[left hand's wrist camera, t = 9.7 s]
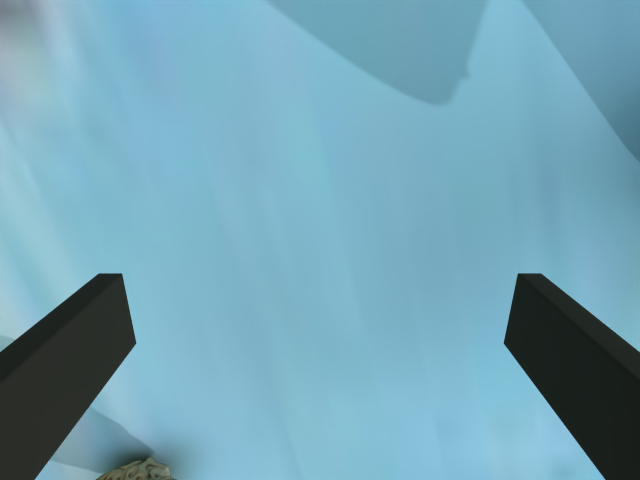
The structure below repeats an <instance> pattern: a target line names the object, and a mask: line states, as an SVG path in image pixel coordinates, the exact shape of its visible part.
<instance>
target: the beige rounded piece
mask: <svg viewBox="0 0 640 480" xmlns="http://www.w3.org/2000/svg"><path fill="white" fill-rule="evenodd" d="M96 480H175V479H173V478H172V477H171V474H170V470H169V467H168V466H167V465H165V464H162V463H157V462H155V459H154V458H153V457H149V458H147V459H146V460H145V461H142V460H139V461H134V462H132V463H130V464H127V465H125V466H122V467H119V468H117V469H114V470H111V471H109V472H108V473H106V474H104V475H102V476H100V477H99V478H98V479H96Z"/></svg>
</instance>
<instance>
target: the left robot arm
mask: <svg viewBox="0 0 640 480" xmlns="http://www.w3.org/2000/svg"><path fill="white" fill-rule="evenodd" d="M135 344H136V340H135V335H134V330H133V325H132V320H131V315H130V310H129V305H128V300H127V295H126V291H125V286H124V281H123V276H122V274H98V275H96V276H95V277H94V278H93V279H91V280H90V281H89V282H88V283H86V284H85V285H84V286H83V287H81V288H80V289H79V290H78V291H76V292H75V293H74V294H73V295H71V296H70V297H69V298H68V299H66V300H65V301H64V302H63V303H61V304H60V305H59V306H58V307H56V308H55V309H54V310H53V311H51V312H50V313H49V314H48V315H46V316H45V317H44V318H43V319H41V320H40V321H39V322H38V323H36V324H35V325H34V326H33V327H31V328H30V329H29V330H28V331H26V332H25V333H24V334H23V335H21V336H20V337H19V338H18V339H16V340H15V341H14V342H13V343H11V344H10V345H9V346H8V347H6V348H5V349H4V350H2V351H1V352H0V480H35V478H36V477H37V476H38V474H39V473H40V472H41V470H42V469H43V468H44V466H45V465H46V464H47V462H48V461H49V460H50V458H51V457H52V456H53V454H54V453H55V452H56V450H57V449H58V448H59V446H60V445H61V444H62V442H63V441H64V440H65V438H66V437H67V436H68V434H69V433H70V431H71V430H72V429H73V427H74V426H75V425H76V423H77V422H78V421H79V419H80V418H81V417H82V415H83V414H84V413H85V411H86V410H87V409H88V407H89V406H90V405H91V403H92V402H93V401H94V399H95V398H96V397H97V395H98V394H99V393H100V391H101V390H102V389H103V387H104V386H105V385H106V383H107V382H108V381H109V379H110V378H111V377H112V375H113V374H114V373H115V371H116V370H117V368H118V367H119V366H120V364H121V363H122V362H123V360H124V359H125V358H126V356H127V355H128V354H129V352H130V351H131V350H132V348H133V347H134V346H135ZM504 344H505V346H506V347H507V348H508V350H509V351H510V352H511V354H512V355H513V356H514V358H515V359H516V360H517V362H518V363H519V364H520V366H521V367H522V368H523V370H524V371H525V373H526V374H527V375H528V377H529V378H530V379H531V381H532V382H533V383H534V385H535V386H536V387H537V389H538V390H539V391H540V393H541V394H542V395H543V397H544V398H545V399H546V401H547V402H548V403H549V405H550V406H551V407H552V409H553V410H554V411H555V413H556V414H557V415H558V417H559V418H560V419H561V421H562V422H563V423H564V425H565V426H566V427H567V429H568V430H569V431H570V433H571V434H572V436H573V437H574V438H575V440H576V441H577V442H578V444H579V445H580V446H581V448H582V449H583V450H584V452H585V453H586V454H587V456H588V457H589V458H590V460H591V461H592V462H593V464H594V465H595V466H596V468H597V469H598V470H599V472H600V473H601V474H602V476H603V477H604V478H605V480H640V352H639V351H638V350H636V349H635V348H634V347H632V346H631V345H630V344H629V343H627V342H626V341H625V340H624V339H622V338H621V337H620V336H619V335H617V334H616V333H615V332H614V331H612V330H611V329H610V328H609V327H607V326H606V325H605V324H604V323H602V322H601V321H600V320H599V319H597V318H596V317H595V316H594V315H592V314H591V313H590V312H589V311H587V310H586V309H585V308H584V307H582V306H581V305H580V304H579V303H577V302H576V301H575V300H574V299H572V298H571V297H570V296H569V295H567V294H566V293H565V292H564V291H562V290H561V289H560V288H559V287H557V286H556V285H555V284H554V283H552V282H551V281H550V280H549V279H547V278H546V277H545V276H544V275H542V274H518V276H517V281H516V286H515V291H514V295H513V300H512V305H511V310H510V315H509V320H508V325H507V330H506V335H505V340H504Z"/></svg>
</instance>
